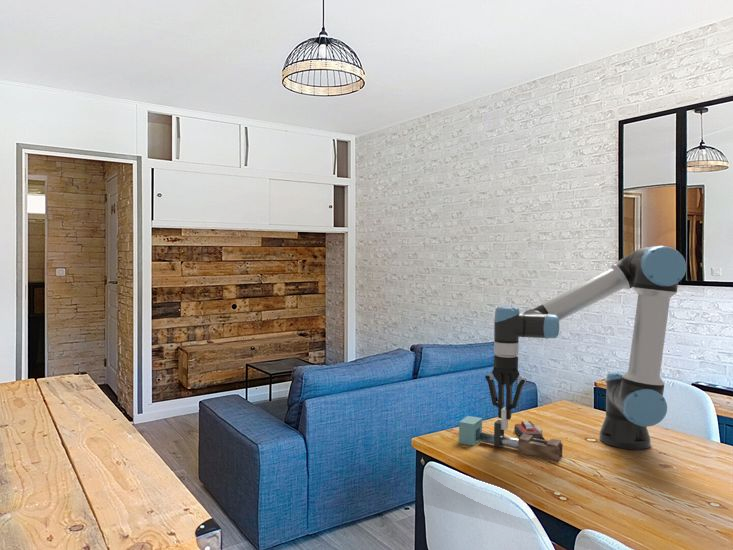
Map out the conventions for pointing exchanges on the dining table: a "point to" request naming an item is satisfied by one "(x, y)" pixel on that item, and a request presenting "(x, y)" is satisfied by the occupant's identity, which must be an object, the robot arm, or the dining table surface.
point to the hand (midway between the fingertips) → (504, 428)
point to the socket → (470, 430)
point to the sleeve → (540, 447)
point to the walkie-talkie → (529, 429)
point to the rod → (500, 437)
